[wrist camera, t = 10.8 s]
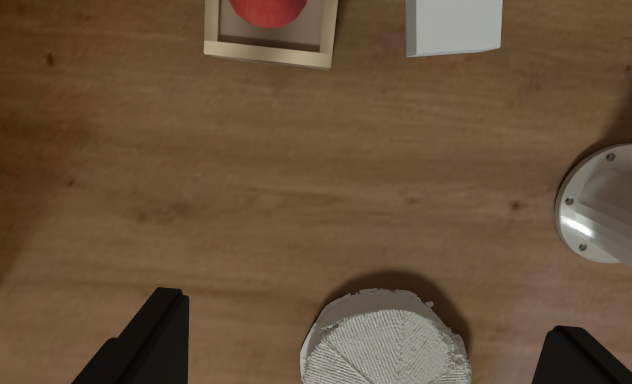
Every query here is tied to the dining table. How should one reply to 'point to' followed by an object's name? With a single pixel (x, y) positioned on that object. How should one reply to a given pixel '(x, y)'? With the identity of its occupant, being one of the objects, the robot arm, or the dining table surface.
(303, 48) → the wooden open box
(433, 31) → the grey block
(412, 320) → the grey round flat slab
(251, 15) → the pomegranate
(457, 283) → the dining table surface
